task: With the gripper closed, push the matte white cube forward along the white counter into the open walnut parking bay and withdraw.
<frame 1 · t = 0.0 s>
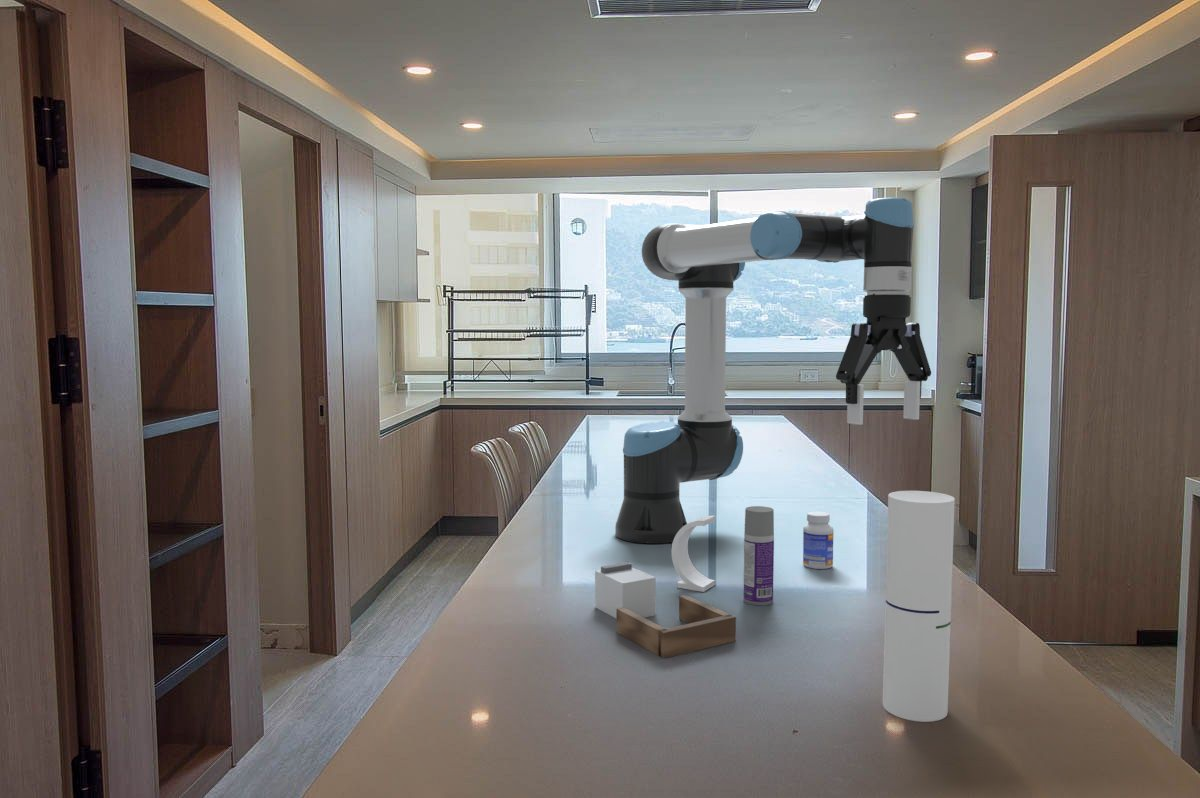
hand: (883, 421, 150), 28 cm above the countertop, fingers open, 13 cm apart
container: (758, 601, 144), on the countertop
pill bottle: (817, 566, 165), on the countertop
matte white cube: (624, 611, 139), on the countertop
bay: (673, 635, 128), on the countertop
cylindrical container: (914, 709, 105), on the countertop
headphone stand: (693, 586, 152), on the countertop
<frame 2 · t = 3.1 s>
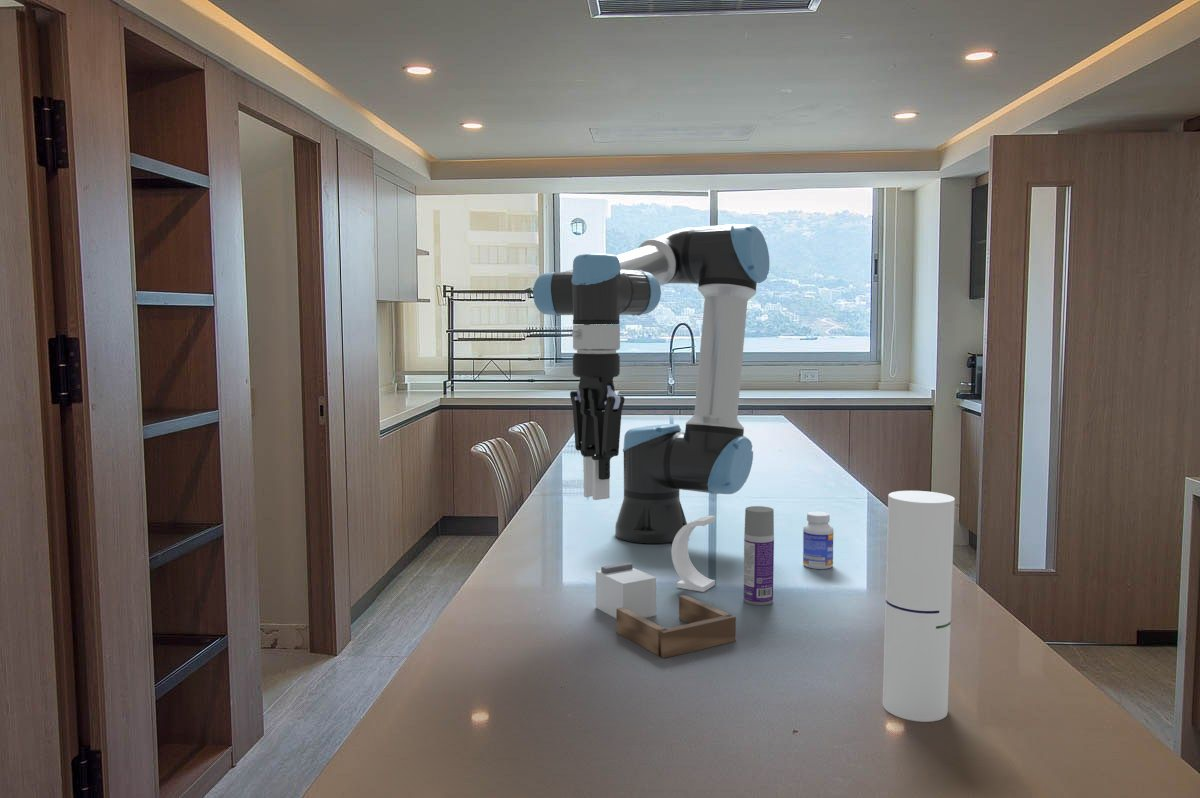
hand: (596, 497, 145), 16 cm above the countertop, fingers open, 2 cm apart
nothing on the countertop moved.
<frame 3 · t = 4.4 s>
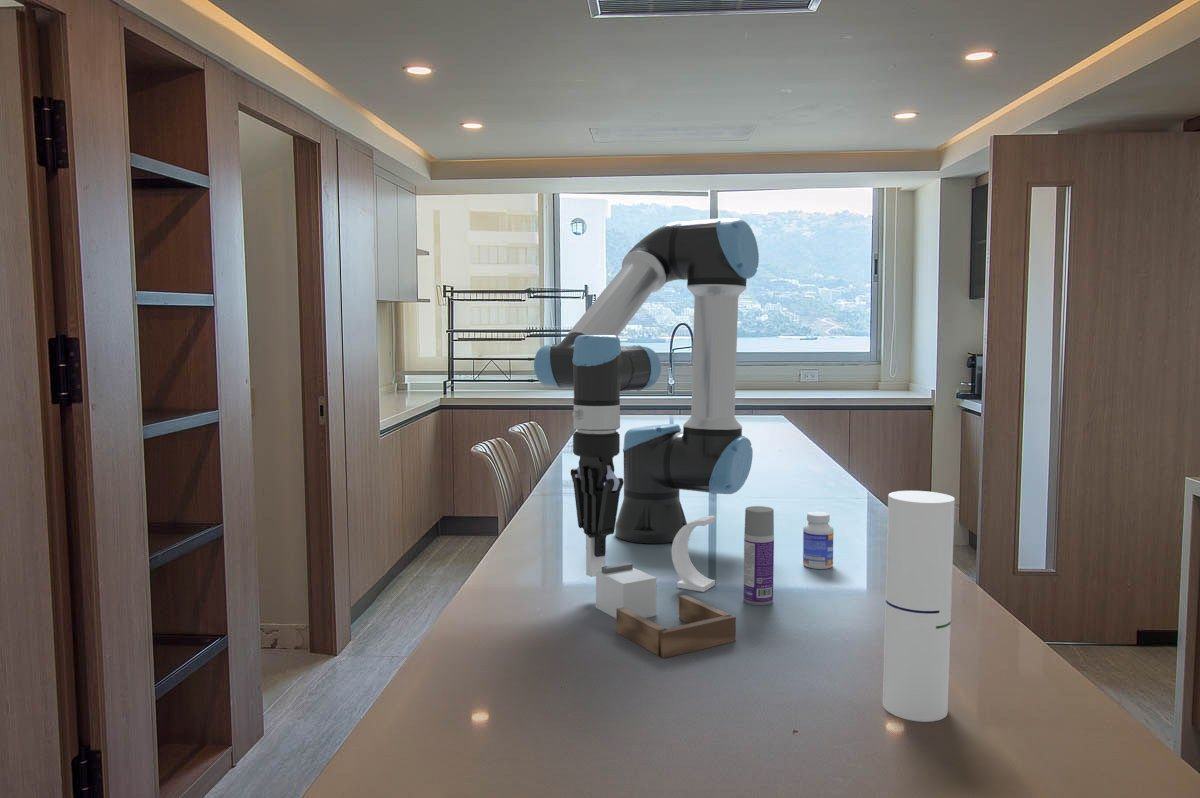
hand: (595, 574, 146), 4 cm above the countertop, fingers closed
nothing on the countertop moved.
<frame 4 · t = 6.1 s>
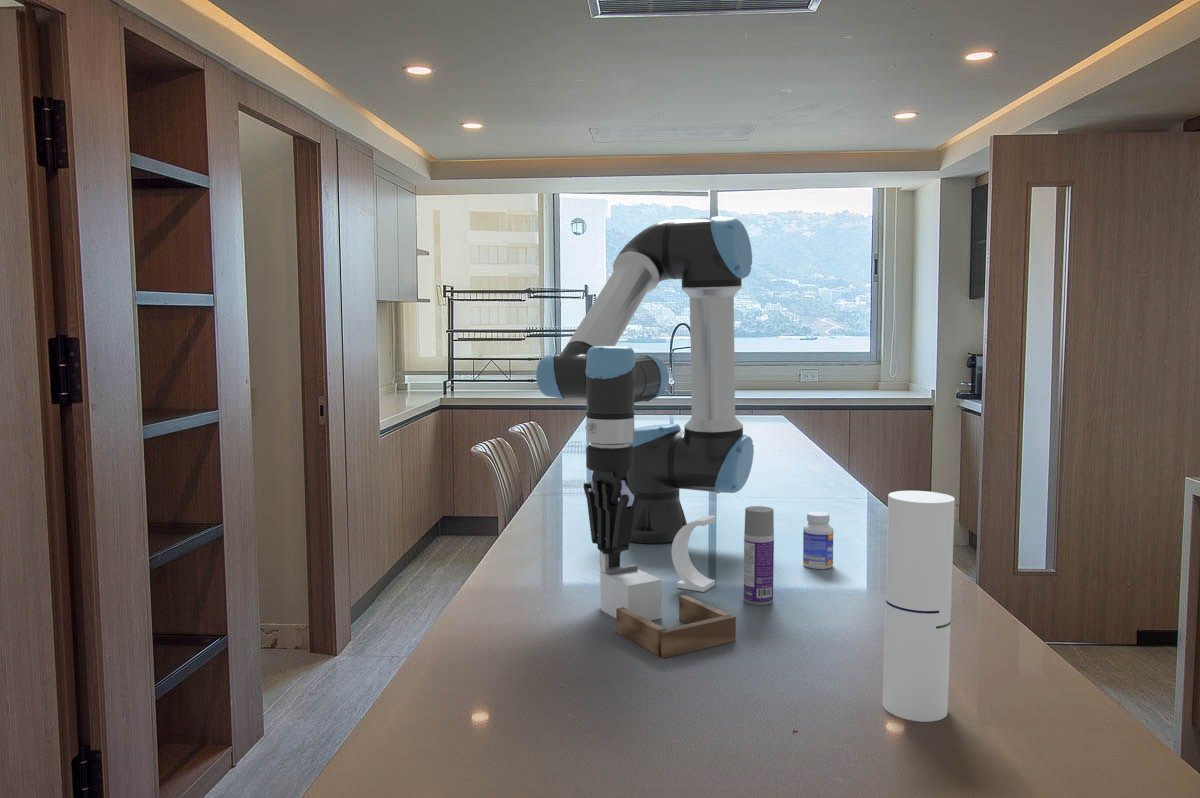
hand: (609, 591, 143), 2 cm above the countertop, fingers closed
matte white cube: (630, 614, 138), on the countertop, touching gripper
everything else where it was.
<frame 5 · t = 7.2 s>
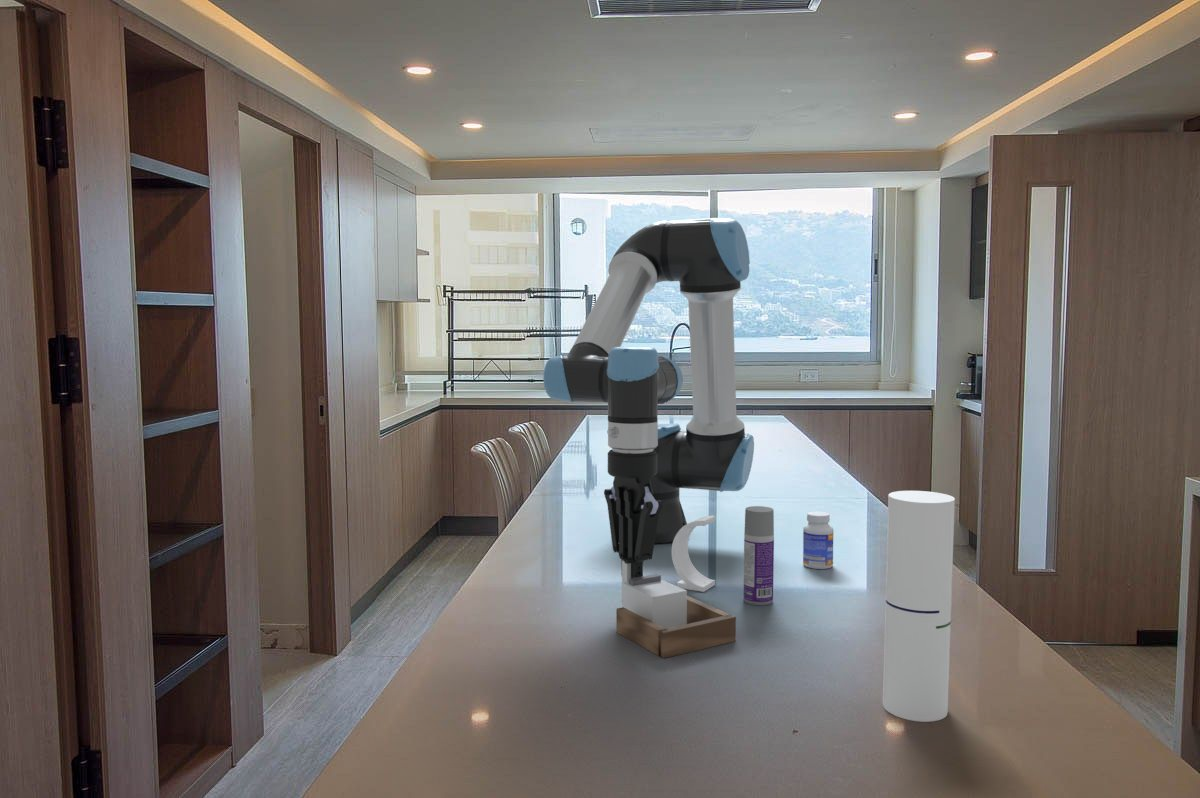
hand: (631, 601, 137), 2 cm above the countertop, fingers closed
matte white cube: (654, 626, 132), on the countertop, touching gripper
everything else where it was.
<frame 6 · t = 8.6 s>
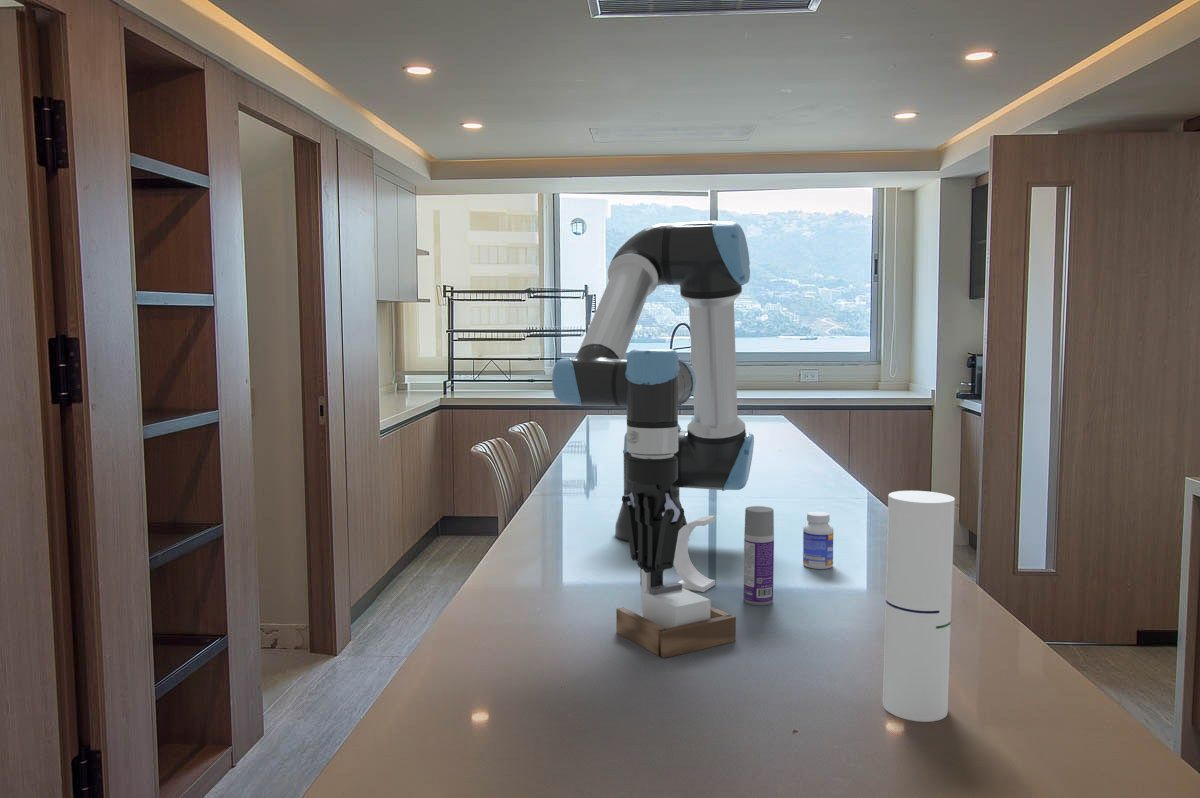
hand: (651, 611, 133), 2 cm above the countertop, fingers closed
matte white cube: (675, 636, 128), on the countertop, touching gripper
everything else where it was.
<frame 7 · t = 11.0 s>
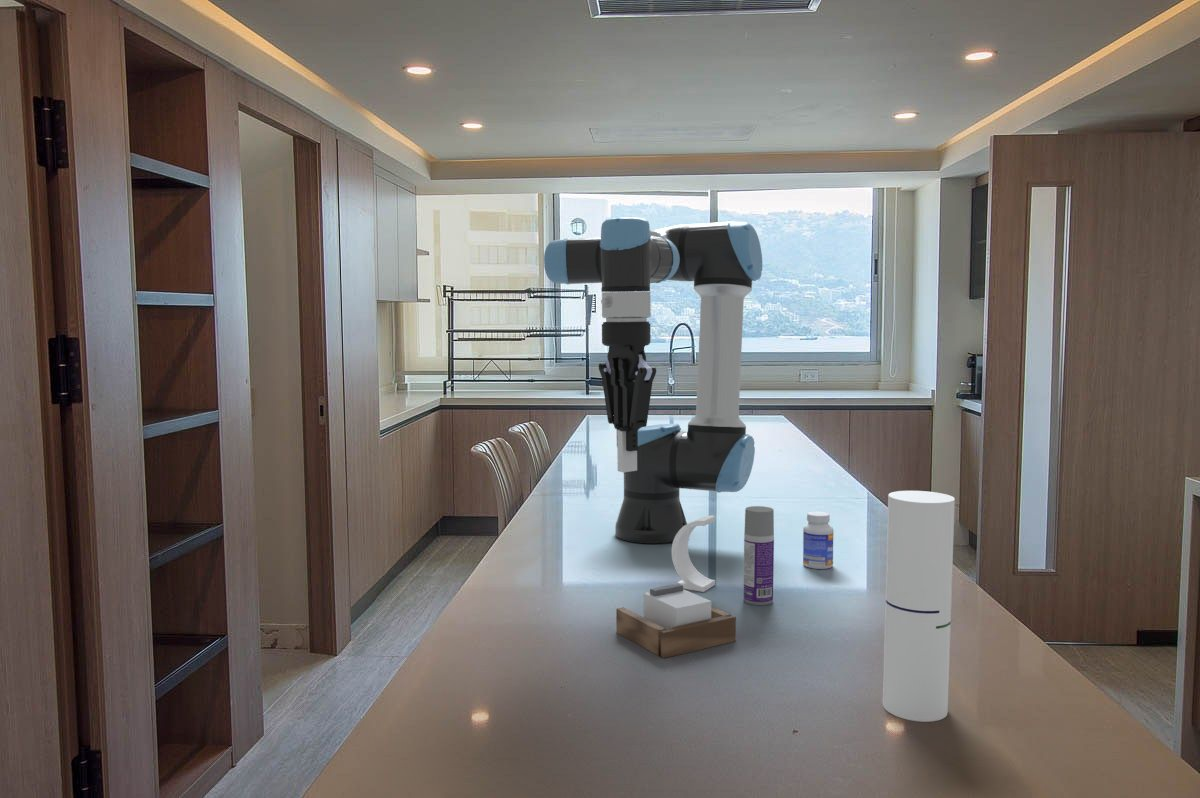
hand: (627, 470, 141), 21 cm above the countertop, fingers closed
matte white cube: (676, 638, 128), on the countertop
everything else where it was.
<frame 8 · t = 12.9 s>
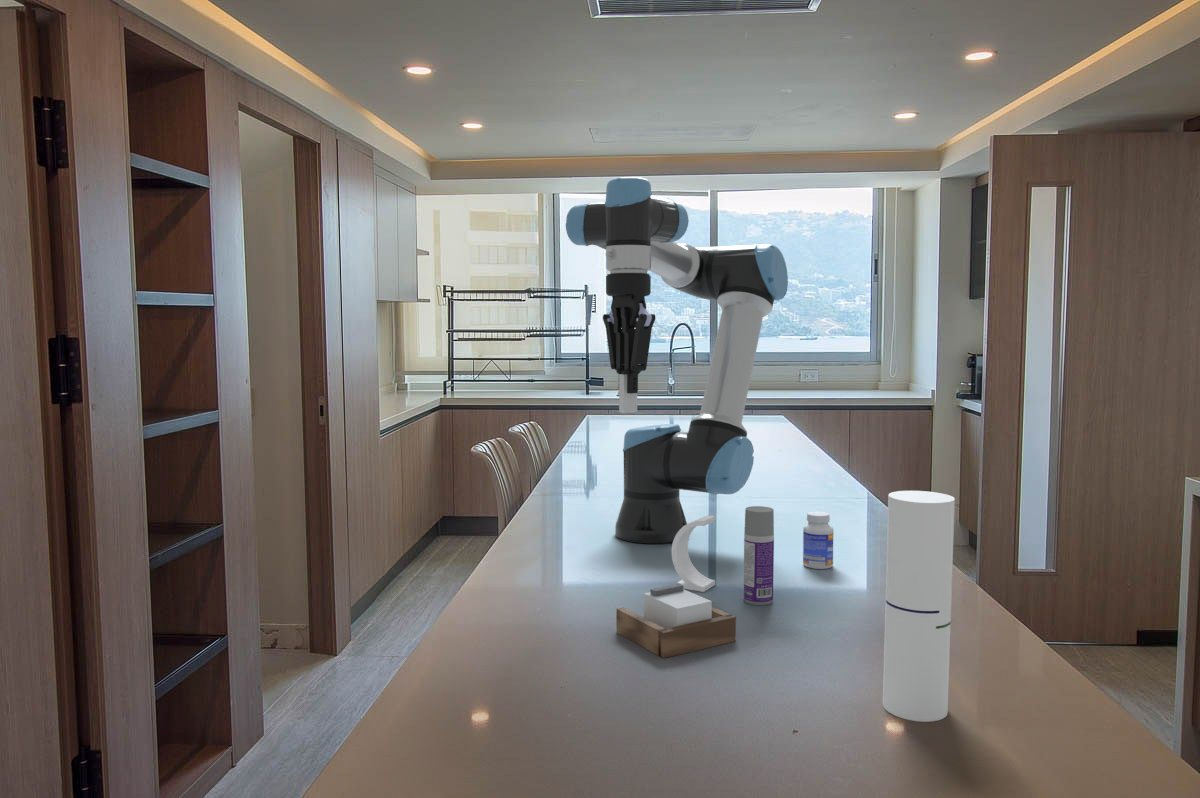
hand: (628, 412, 153), 29 cm above the countertop, fingers closed
nothing on the countertop moved.
at the end: matte white cube inside the target area on the bay (0.5 cm from its centre), point 0.0 cm above the bay's base; matte white cube tilted 0° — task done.
